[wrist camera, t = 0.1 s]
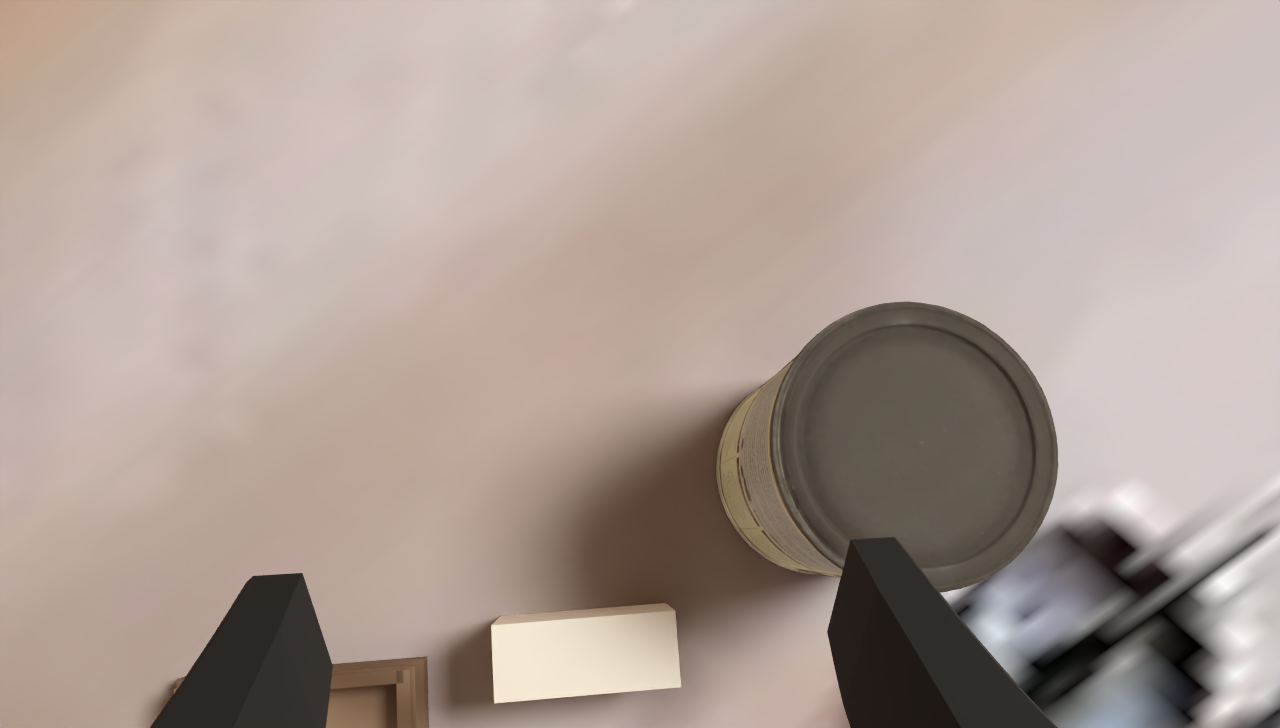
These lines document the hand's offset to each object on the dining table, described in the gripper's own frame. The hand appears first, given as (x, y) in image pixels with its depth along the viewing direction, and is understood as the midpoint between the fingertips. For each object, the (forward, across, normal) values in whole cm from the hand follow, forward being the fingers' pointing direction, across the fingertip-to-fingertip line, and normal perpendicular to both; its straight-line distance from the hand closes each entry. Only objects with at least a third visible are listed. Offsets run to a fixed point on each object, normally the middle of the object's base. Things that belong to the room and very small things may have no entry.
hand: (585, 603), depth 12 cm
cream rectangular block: (+18, 0, +27) cm, 33 cm away
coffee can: (+24, -12, +22) cm, 35 cm away
